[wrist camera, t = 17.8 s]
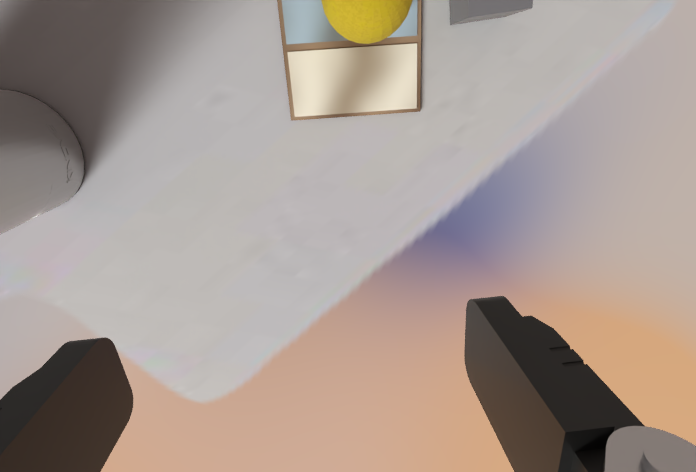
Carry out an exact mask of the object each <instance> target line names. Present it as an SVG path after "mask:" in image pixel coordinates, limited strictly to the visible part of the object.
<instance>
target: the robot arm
mask: <svg viewBox="0 0 696 472" xmlns="http://www.w3.org/2000/svg"><path fill="white" fill-rule="evenodd" d="M83 175H84V159H83V154H82V150H81V147H80V145H79V142H78V140H77V138H76V136H75V134H74V133H73V131H72V130H71V128H70V127H69V125H68V124H67V123H66V122H65V121H64V120H63V119H62V118H61V117H60V115H59V114H58V113H57V112H55V111H54V110H53V109H51V108H50V107H49V106H47V105H46V104H45V103H43V102H41V101H39V100H37V99H35V98H34V97H32V96H29V95H26V94H23V93H20V92H17V91H10V90H3V89H1V90H0V234H2V233H4V232H6V231H8V230H11V229H13V228H15V227H17V226H19V225H21V224H23V223H25V222H27V221H29V220H31V219H33V218H35V217H37V216H39V215H41V214H43V213H45V212H47V211H49V210H52V209H54V208H56V207H58V206H60V205H61V204H63V203H65V202H67V201H68V200H69V199H70V198H71V197H73V196H74V195H75V194H76V192H77V190H78V189H79V187H80V185H81V183H82V179H83ZM465 365H466V370H467V374H468V377H469V380H470V383H471V385H472V387H473V389H474V391H475V393H476V395H477V397H478V399H479V401H480V403H481V405H482V407H483V409H484V411H485V413H486V415H487V417H488V419H489V421H490V423H491V425H492V427H493V429H494V431H495V433H496V435H497V437H498V439H499V441H500V443H501V445H502V447H503V450H504V452H505V454H506V456H507V457H508V460H509V462H510V463H511V466H512V468H513V470H514V472H696V446H695V445H693V444H692V443H690V442H688V441H686V440H684V439H682V438H680V437H678V436H676V435H674V434H671V433H668V432H666V431H663V430H659V429H656V428H651V427H645V426H644V425H643V424H642V423H641V422H640V421H639V420H638V419H637V417H636V416H635V415H634V414H633V413H632V412H631V411H630V410H629V409H628V408H627V407H626V406H625V405H624V404H623V403H622V401H621V400H620V399H619V398H618V397H617V396H616V395H615V394H614V393H613V392H612V391H611V390H610V389H609V387H608V386H607V385H606V384H605V383H604V382H603V381H602V380H601V379H600V378H599V377H598V376H597V375H596V374H595V372H593V370H592V369H591V368H590V367H589V366H588V365H587V364H586V365H585V364H584V363H583V360H582V359H581V357H579V355H578V354H577V353H576V352H575V351H574V350H573V349H572V350H571V349H570V346H569V345H568V344H567V343H566V341H565V340H564V339H563V338H562V337H561V336H560V335H559V334H558V333H557V332H556V331H555V330H554V329H553V328H551V327H550V326H548V325H546V324H545V323H543V322H541V321H539V320H538V319H536V318H534V317H533V316H524V317H522V316H521V315H520V314H519V312H518V311H516V309H515V308H514V307H513V305H512V304H511V303H510V302H509V301H508V300H507V299H506V298H505V297H504V296H498V297H490V298H479V299H471V300H469V301H468V303H467V308H466V330H465ZM132 408H133V394H132V390H131V387H130V384H129V382H128V379H127V376H126V374H125V371H124V369H123V366H122V364H121V361H120V358H119V355H118V353H117V350H116V348H115V345H114V343H113V342H112V341H111V340H110V339H108V338H97V339H87V340H78V341H70V342H67V343H65V344H64V345H63V346H62V347H61V348H60V349H59V350H58V351H57V352H56V353H55V354H54V355H53V356H52V357H51V358H50V359H49V360H48V361H47V362H46V363H45V364H44V365H43V366H42V367H41V368H40V369H39V370H37V371H36V372H34V373H33V374H32V375H30V376H29V377H27V378H26V379H24V380H23V381H21V382H20V383H18V384H17V385H15V386H14V387H13V388H12V389H11V390H10V391H9V392H8V393H7V394H6V395H5V396H4V397H3V398H2V399H1V400H0V472H100V471H101V469H102V468H103V466H104V464H105V462H106V461H107V459H108V457H109V455H110V453H111V452H112V450H113V448H114V446H115V444H116V443H117V441H118V439H119V437H120V435H121V434H122V432H123V430H124V428H125V426H126V425H127V423H128V421H129V419H130V416H131V412H132Z"/></svg>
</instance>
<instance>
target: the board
mask: <svg viewBox="0 0 696 472" xmlns="http://www.w3.org/2000/svg"><path fill="white" fill-rule="evenodd" d="M277 2H278V10H279V19H280V28H281V36H282V45H283V53H284V62H285V71H286V79H287V88H288V96H289V105H290V114H291V120H305V119H319V118H333V117H348V116H362V115H376V114H390V113H404V112H418V111H420V91H421V0H412V4H411V7H410V10H409V12H408V15H407V17H406V18H405V20H404V21H403V23H402V24H401V26H400V27H399V28H398V29H397V30H396V31H395V32H394V33H393V34H392V35H391V36H389V37H387V38H385V39H383V40H381V41H379V42H375V43H370V44H362V43H356V42H353V41H350V40H347V39H346V38H344V37H343V36H342V35H340V34H339V33H338V32H337V31H336V30H335V29H334V28H333V27H332V25H331V24H330V23H329V21H328V19H327V17H326V15H325V13H324V9H323V5H322V1H321V0H277Z"/></svg>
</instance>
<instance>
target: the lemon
mask: <svg viewBox="0 0 696 472" xmlns="http://www.w3.org/2000/svg"><path fill="white" fill-rule="evenodd" d="M321 1H322V5H323V9H324V13H325V15H326V17H327V19H328V21H329V23H330V24H331V25H332V27H333V28H334V29H335V30H336V31H337V32H338V33H339V34H340V35H342V36H343V37H344V38H346V39H347V40H350V41H353V42H356V43H362V44H370V43H375V42H379V41H381V40H383V39H385V38H387V37H389V36H391V35H392V34H393V33H394V32H395V31H396V30H397V29H398V28H399V27H400V26H401V24H402V23H403V21H404V20H405V18H406V17H407V15H408V12H409V10H410V7H411V4H412V0H321Z"/></svg>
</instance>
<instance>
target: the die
mask: <svg viewBox="0 0 696 472" xmlns="http://www.w3.org/2000/svg"><path fill="white" fill-rule="evenodd" d="M532 4H533V0H450V25H454V24H461V23H467V22H474V21H480V20H487V19H493V18H500V17H506V16H509V15H512V14H515V13H518V12H522V11H525V10H528V9H531V8H532Z"/></svg>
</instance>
